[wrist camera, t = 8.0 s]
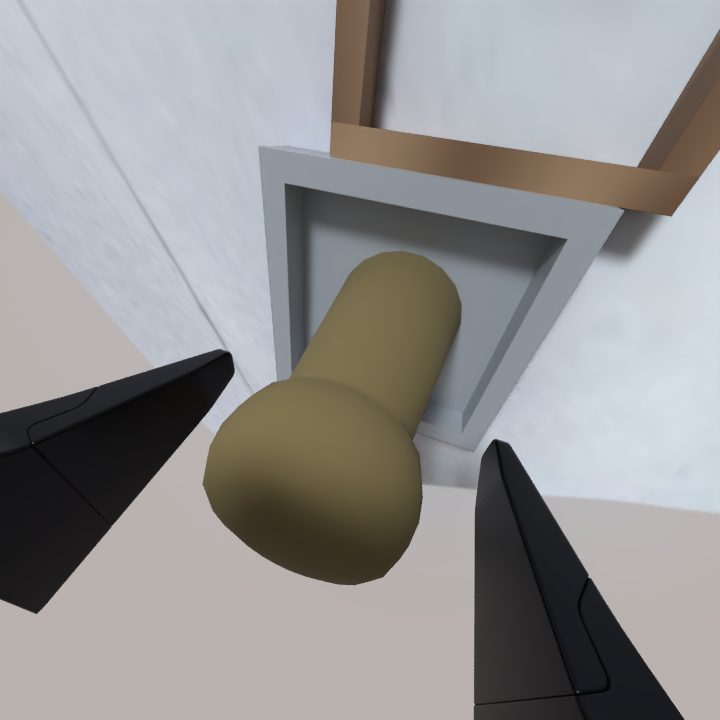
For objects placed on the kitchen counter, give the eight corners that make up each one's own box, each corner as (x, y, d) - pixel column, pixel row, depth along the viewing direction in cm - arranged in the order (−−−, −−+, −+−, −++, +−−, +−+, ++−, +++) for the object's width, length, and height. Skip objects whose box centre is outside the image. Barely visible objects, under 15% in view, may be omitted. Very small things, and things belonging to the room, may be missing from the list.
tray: (600, 199, 10) (624, 210, 8) (474, 422, 17) (473, 451, 16) (289, 146, 12) (258, 146, 10) (295, 364, 20) (277, 385, 18)
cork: (403, 381, 17) (324, 621, 8) (320, 313, 16) (138, 504, 7) (492, 314, 13) (514, 635, 4) (389, 219, 12) (173, 393, 4)
